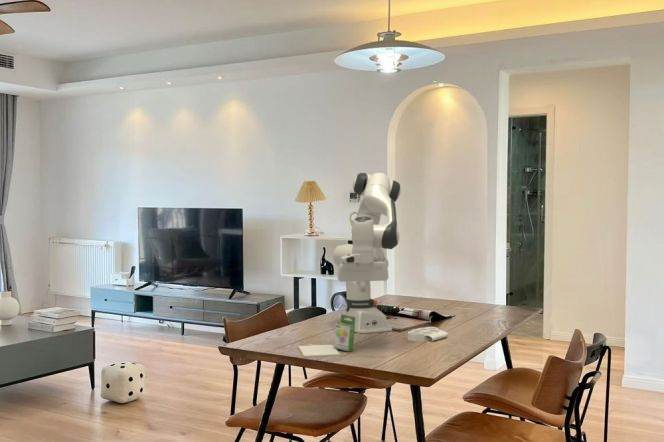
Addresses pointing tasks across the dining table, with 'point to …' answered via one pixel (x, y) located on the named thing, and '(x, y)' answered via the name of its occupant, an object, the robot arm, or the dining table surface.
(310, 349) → the mat
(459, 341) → the dining table surface
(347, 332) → the ink box
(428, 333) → the folded white cloth
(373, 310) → the robot arm
